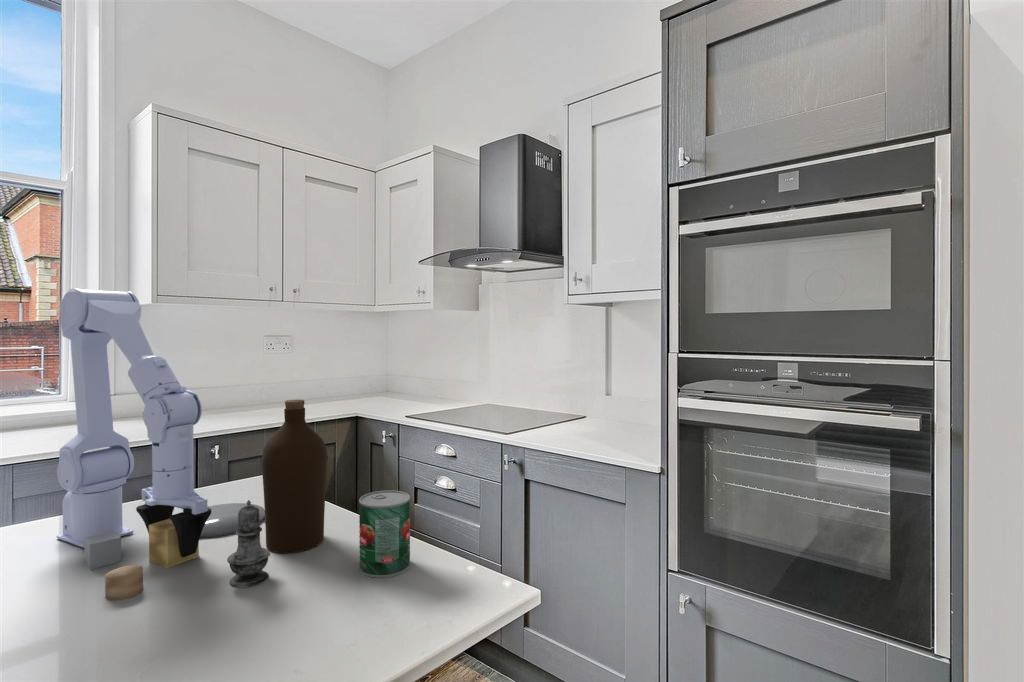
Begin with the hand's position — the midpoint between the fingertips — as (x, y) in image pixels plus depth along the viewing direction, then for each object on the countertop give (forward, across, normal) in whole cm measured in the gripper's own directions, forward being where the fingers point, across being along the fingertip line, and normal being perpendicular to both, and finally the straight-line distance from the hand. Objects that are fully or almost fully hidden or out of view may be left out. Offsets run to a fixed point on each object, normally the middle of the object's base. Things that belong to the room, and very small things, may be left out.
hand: (174, 550), depth 89 cm
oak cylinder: (+2, +5, -10) cm, 11 cm away
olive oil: (+2, +12, +14) cm, 19 cm away
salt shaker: (+2, +17, +1) cm, 17 cm away
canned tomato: (+2, +32, +14) cm, 35 cm away
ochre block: (+2, 0, 0) cm, 2 cm away
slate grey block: (+2, -9, -6) cm, 11 cm away
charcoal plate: (+1, -9, +14) cm, 17 cm away
